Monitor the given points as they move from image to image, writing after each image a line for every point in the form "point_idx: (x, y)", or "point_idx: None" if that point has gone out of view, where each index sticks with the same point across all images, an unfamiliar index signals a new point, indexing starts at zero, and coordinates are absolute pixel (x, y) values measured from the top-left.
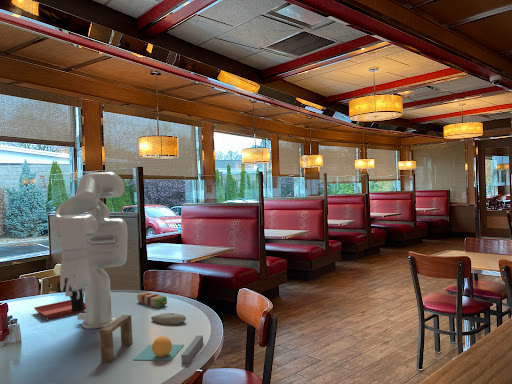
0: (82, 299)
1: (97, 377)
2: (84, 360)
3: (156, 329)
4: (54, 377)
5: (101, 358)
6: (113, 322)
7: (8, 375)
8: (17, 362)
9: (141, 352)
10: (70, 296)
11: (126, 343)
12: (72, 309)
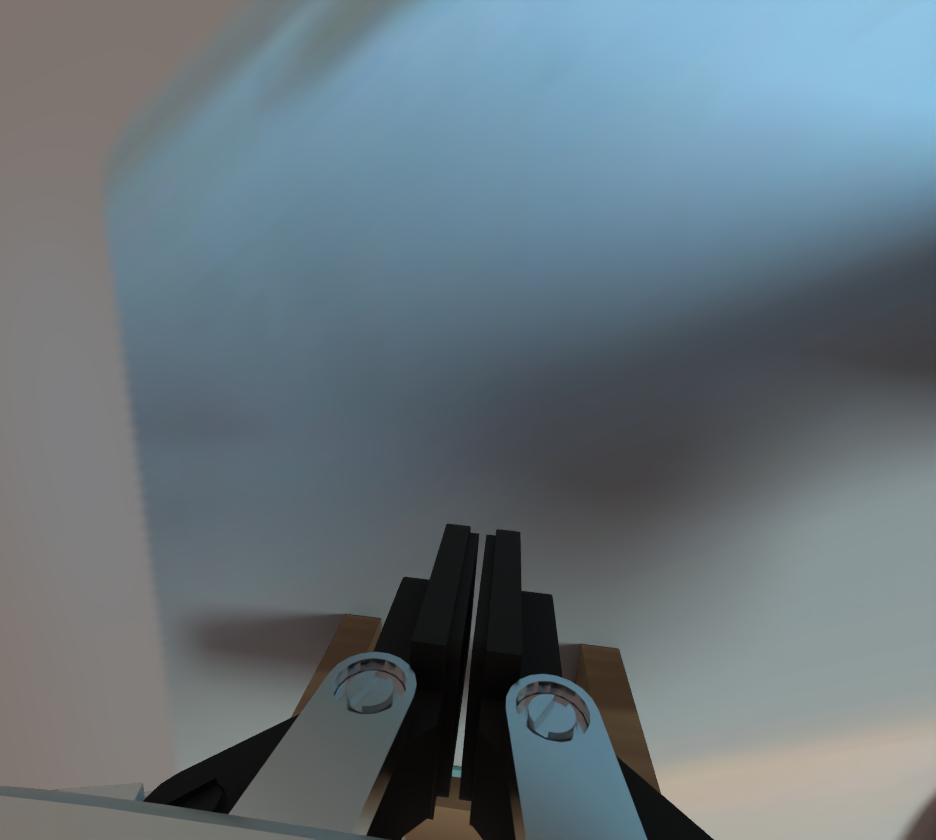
0: (471, 800)
1: (181, 656)
2: (368, 513)
3: (861, 772)
4: (157, 452)
5: (338, 628)
6: (448, 824)
7: (145, 138)
8: (336, 41)
9: (455, 773)
10: (213, 777)
11: (577, 683)
12: (442, 540)
